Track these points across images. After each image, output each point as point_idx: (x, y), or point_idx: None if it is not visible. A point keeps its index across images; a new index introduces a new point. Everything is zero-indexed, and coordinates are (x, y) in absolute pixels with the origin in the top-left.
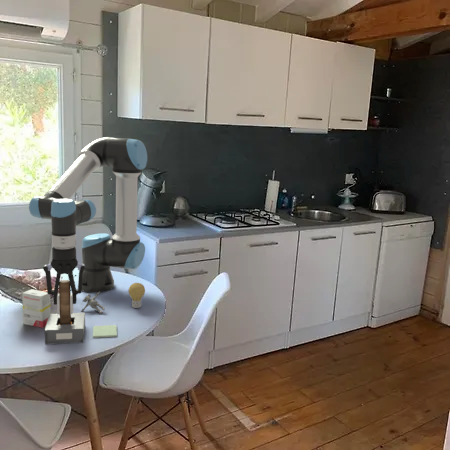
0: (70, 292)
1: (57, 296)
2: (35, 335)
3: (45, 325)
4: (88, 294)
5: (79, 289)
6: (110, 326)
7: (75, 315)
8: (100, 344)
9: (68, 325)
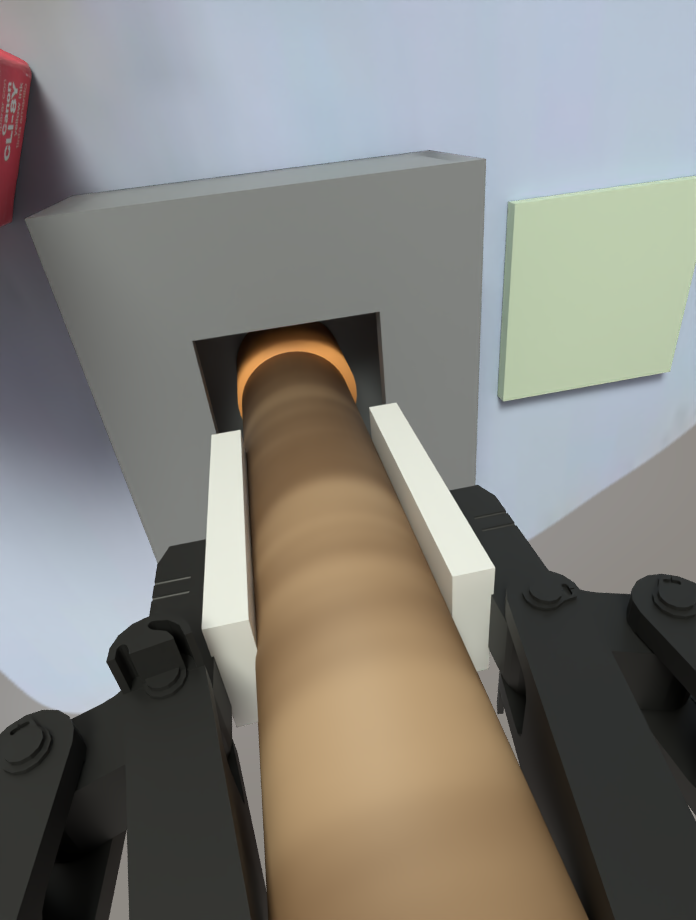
0: (468, 655)
1: (245, 724)
2: (23, 384)
3: (12, 185)
4: None
5: (675, 742)
6: (659, 212)
7: (380, 258)
8: (541, 477)
9: None
